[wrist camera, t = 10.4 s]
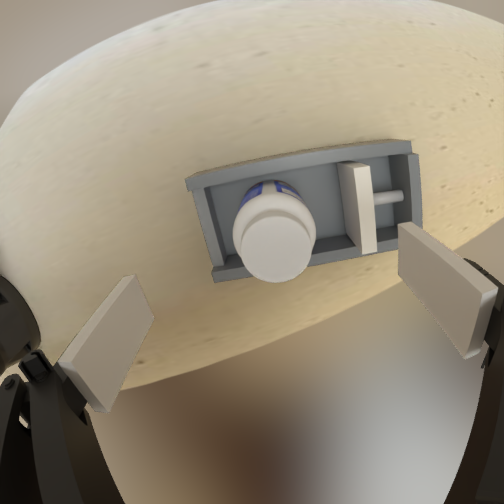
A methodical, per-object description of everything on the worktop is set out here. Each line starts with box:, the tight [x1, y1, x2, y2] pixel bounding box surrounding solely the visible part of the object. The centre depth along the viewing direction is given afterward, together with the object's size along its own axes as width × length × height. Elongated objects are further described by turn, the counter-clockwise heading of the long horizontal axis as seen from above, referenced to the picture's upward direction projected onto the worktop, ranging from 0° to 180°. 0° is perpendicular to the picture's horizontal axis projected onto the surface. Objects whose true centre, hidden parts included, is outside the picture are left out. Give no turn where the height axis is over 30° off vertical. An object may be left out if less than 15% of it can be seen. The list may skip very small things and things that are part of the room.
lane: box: [185, 139, 422, 283], centre depth 23 cm, size 18×9×5 cm, turn 102°
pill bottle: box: [233, 180, 316, 283], centre depth 20 cm, size 5×5×10 cm
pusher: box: [337, 160, 404, 255], centre depth 21 cm, size 5×6×5 cm
